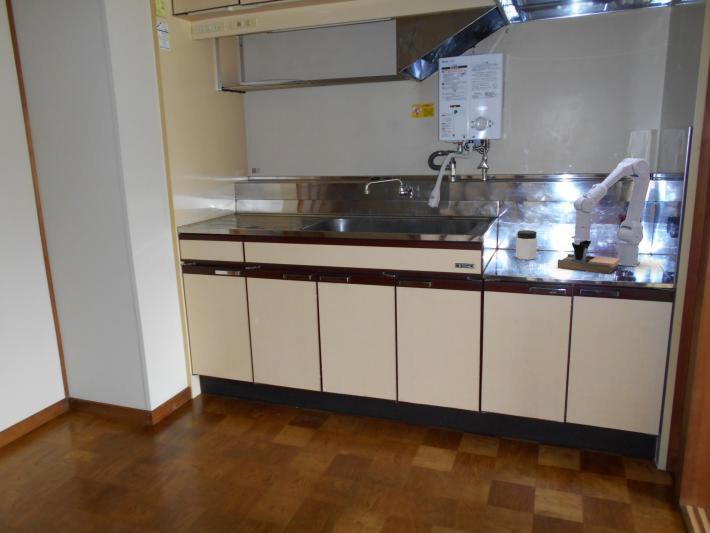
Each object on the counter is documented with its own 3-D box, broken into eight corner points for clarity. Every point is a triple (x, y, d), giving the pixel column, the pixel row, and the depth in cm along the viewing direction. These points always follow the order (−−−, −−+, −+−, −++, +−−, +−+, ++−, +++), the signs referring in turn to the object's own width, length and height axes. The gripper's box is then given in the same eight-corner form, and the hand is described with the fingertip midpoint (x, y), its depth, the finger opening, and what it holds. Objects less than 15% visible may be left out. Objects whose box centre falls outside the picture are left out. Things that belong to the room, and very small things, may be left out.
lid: (596, 259, 231) (596, 256, 231) (619, 262, 226) (619, 258, 225) (589, 264, 222) (589, 261, 222) (613, 267, 217) (613, 263, 217)
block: (576, 261, 233) (577, 247, 231) (586, 262, 230) (587, 248, 229) (573, 262, 230) (574, 248, 228) (583, 263, 227) (584, 249, 226)
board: (567, 261, 240) (568, 253, 239) (617, 267, 228) (618, 259, 227) (557, 268, 229) (558, 259, 228) (608, 274, 217) (609, 265, 216)
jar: (525, 255, 255) (526, 229, 252) (539, 258, 248) (541, 231, 245) (511, 257, 250) (513, 231, 247) (526, 260, 243) (527, 234, 241)
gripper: (577, 223, 234) (575, 254, 237) (567, 228, 223) (565, 260, 226) (595, 224, 230) (592, 256, 233) (585, 229, 219) (583, 262, 222)
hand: (580, 258), depth 229 cm, fingers closed on block, 4 cm apart
